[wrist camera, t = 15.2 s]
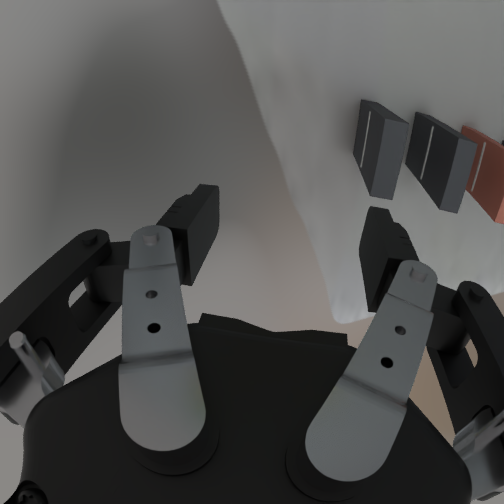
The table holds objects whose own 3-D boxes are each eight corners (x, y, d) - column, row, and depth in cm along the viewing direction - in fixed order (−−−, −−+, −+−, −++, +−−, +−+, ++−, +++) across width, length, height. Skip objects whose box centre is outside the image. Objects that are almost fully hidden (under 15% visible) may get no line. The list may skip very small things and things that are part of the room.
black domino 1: (378, 102, 28) (409, 124, 19) (369, 156, 31) (392, 200, 22) (360, 99, 28) (384, 118, 19) (352, 153, 31) (369, 195, 22)
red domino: (450, 174, 30) (494, 221, 21) (462, 125, 26) (515, 157, 17) (463, 177, 30) (508, 225, 21) (476, 129, 26) (529, 163, 17)
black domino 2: (431, 115, 27) (478, 144, 18) (420, 167, 30) (457, 213, 21) (415, 111, 27) (458, 137, 18) (404, 163, 31) (438, 209, 22)
